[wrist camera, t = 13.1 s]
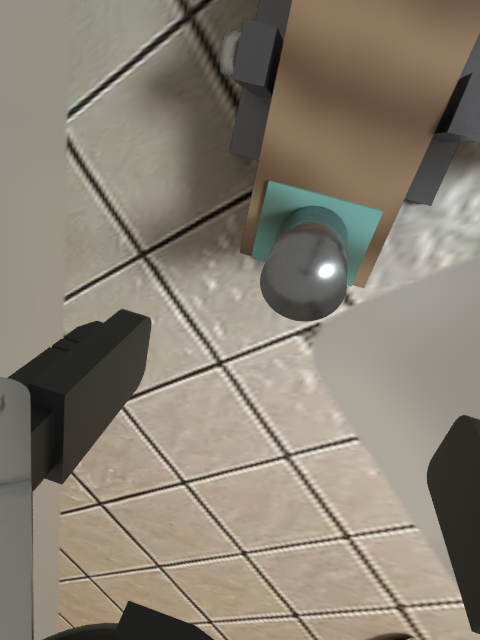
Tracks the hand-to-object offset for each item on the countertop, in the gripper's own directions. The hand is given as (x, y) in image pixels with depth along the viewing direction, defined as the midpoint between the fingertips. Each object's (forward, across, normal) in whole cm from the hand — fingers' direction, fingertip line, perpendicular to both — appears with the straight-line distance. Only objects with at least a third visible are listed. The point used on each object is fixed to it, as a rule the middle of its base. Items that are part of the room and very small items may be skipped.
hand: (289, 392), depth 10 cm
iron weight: (+20, 0, 0) cm, 20 cm away
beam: (+20, 0, -10) cm, 22 cm away
